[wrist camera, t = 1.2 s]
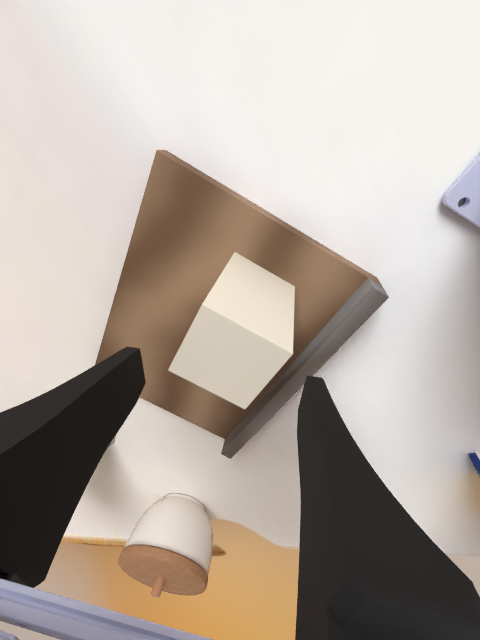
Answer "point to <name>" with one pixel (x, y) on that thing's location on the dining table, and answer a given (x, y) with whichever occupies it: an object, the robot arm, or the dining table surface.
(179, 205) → the shelf board
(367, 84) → the dining table surface
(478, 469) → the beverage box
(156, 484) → the dining table surface
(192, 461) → the dining table surface
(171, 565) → the lidded jar
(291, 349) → the carton
